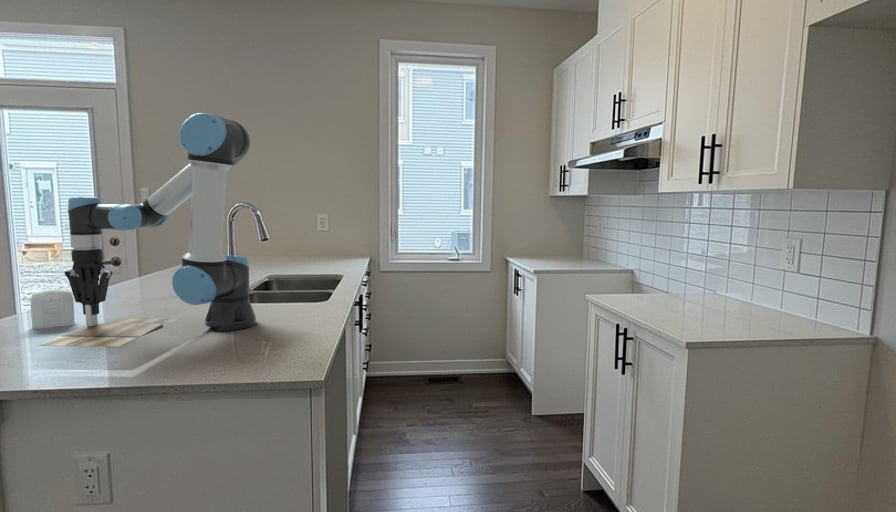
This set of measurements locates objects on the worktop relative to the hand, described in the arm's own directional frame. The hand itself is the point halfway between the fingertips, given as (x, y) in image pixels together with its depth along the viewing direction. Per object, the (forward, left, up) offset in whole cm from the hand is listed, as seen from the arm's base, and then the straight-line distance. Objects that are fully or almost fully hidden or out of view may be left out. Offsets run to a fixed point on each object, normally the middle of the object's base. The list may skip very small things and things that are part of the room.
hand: (92, 324), depth 146 cm
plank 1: (-9, +3, -2) cm, 10 cm away
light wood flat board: (-9, +14, -2) cm, 16 cm away
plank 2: (-10, -9, -2) cm, 14 cm away
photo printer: (+13, -1, -2) cm, 13 cm away
